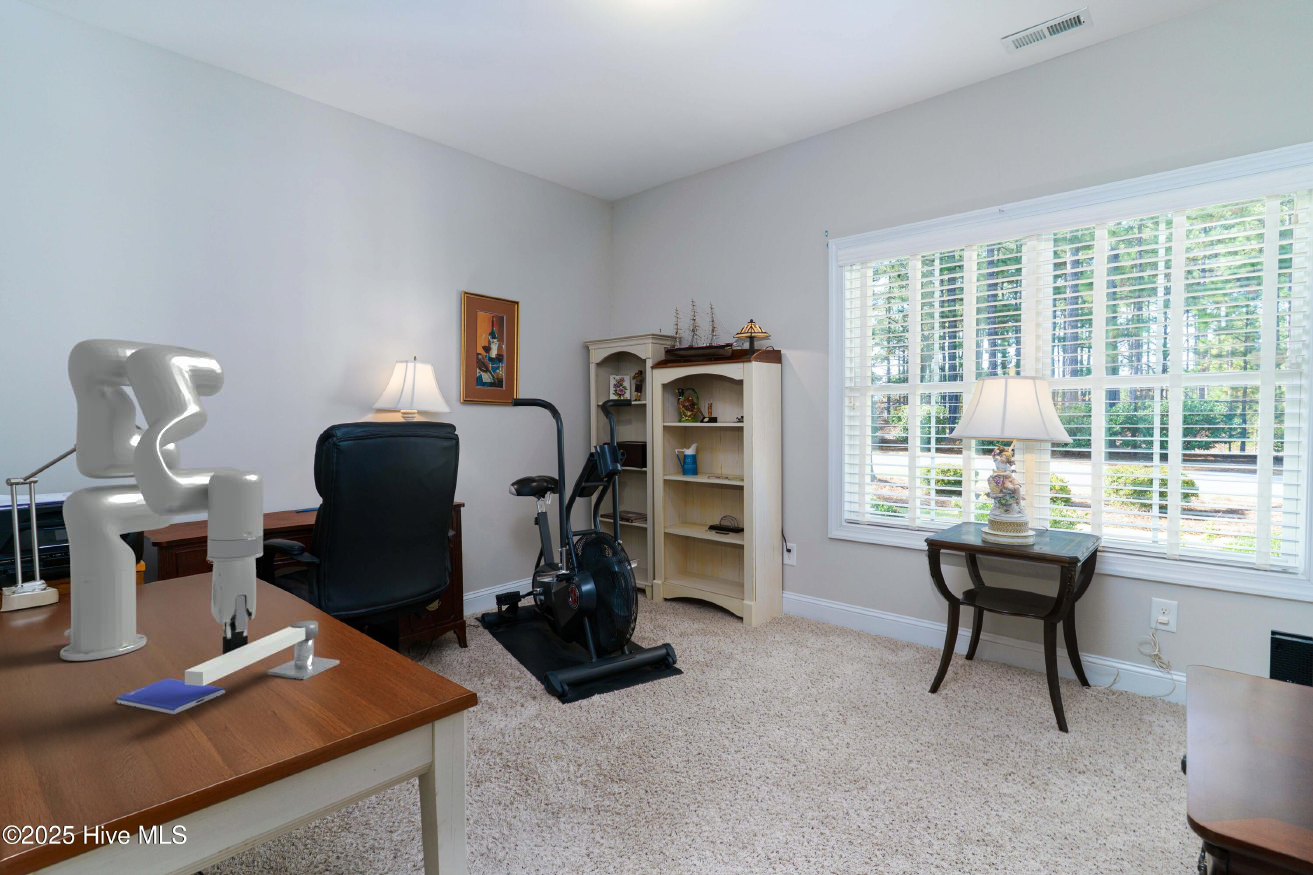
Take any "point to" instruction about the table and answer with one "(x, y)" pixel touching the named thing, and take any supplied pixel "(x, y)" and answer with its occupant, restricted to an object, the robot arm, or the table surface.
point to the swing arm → (250, 653)
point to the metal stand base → (303, 662)
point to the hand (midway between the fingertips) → (235, 659)
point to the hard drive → (169, 696)
